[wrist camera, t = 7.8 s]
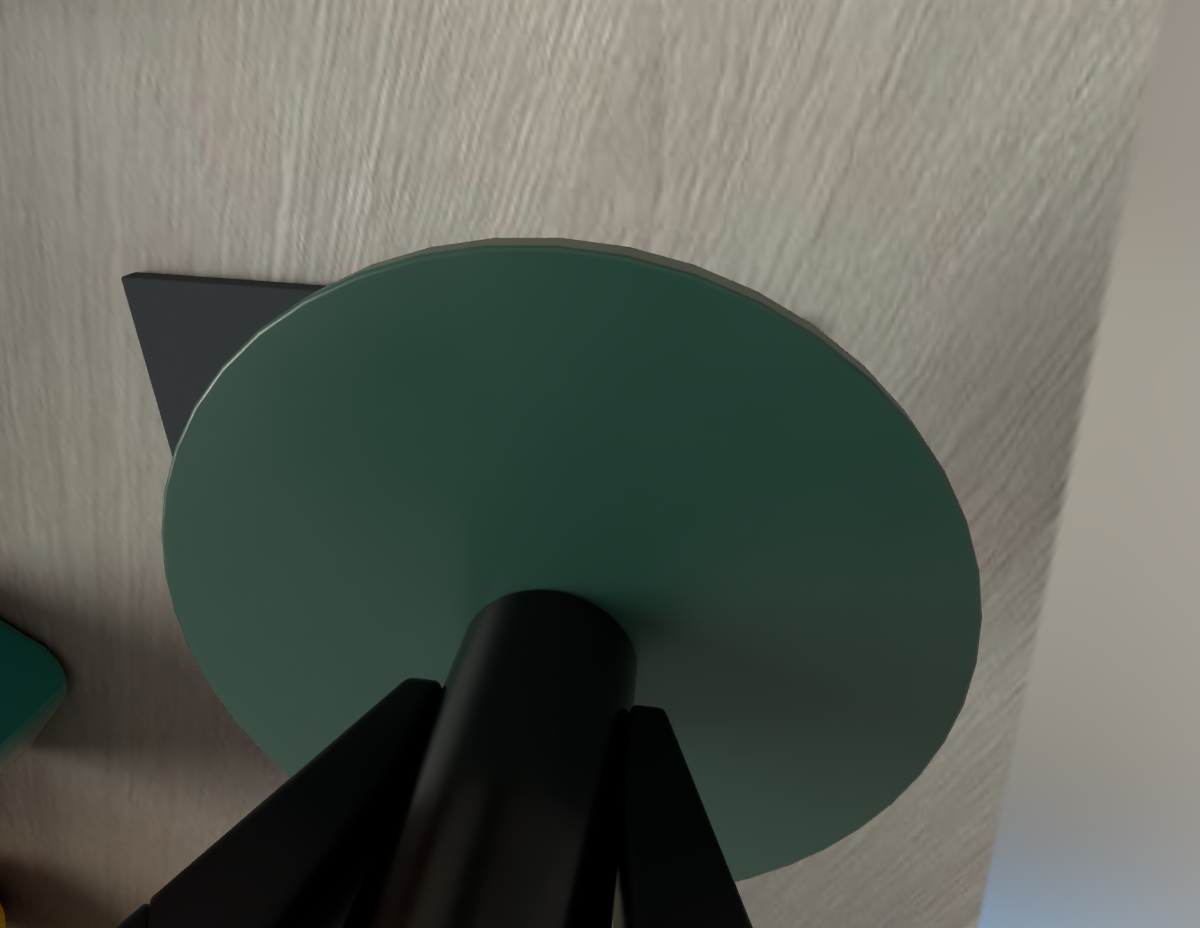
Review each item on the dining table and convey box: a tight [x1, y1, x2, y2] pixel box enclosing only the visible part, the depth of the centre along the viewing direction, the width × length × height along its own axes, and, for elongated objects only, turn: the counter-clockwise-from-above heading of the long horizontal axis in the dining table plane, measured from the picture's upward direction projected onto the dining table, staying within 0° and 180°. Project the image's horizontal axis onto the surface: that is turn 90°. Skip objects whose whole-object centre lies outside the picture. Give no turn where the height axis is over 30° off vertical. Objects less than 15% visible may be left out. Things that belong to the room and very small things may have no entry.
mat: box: [122, 272, 326, 456], centre depth 22 cm, size 18×16×1 cm
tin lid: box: [162, 238, 982, 928], centre depth 8 cm, size 11×11×6 cm
